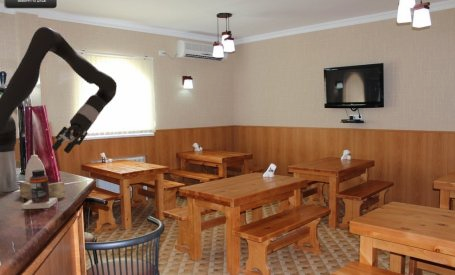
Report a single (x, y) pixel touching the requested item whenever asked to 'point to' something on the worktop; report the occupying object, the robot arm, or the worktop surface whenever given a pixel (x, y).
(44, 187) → the supplement bottle
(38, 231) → the worktop surface
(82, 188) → the worktop surface
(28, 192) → the wooden frame
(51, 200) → the tile
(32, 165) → the sauce bottle
